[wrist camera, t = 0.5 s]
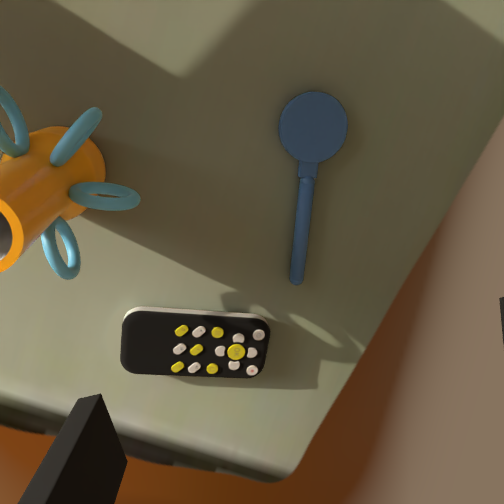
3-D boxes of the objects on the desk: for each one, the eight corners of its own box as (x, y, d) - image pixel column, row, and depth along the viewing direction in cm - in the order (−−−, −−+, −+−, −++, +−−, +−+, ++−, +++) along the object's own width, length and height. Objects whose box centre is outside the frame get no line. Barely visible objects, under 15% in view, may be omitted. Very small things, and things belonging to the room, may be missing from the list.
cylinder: (50, 47, 29) (-72, 18, 15) (172, 152, 33) (161, 204, 19) (-49, 182, 31) (-234, 262, 18) (75, 266, 35) (2, 387, 21)
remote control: (125, 302, 37) (121, 313, 35) (270, 312, 39) (274, 323, 37) (121, 363, 39) (118, 377, 37) (259, 369, 41) (262, 382, 39)
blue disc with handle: (281, 89, 32) (284, 89, 31) (348, 93, 33) (353, 94, 32) (265, 281, 38) (267, 287, 37) (322, 281, 39) (326, 287, 38)
